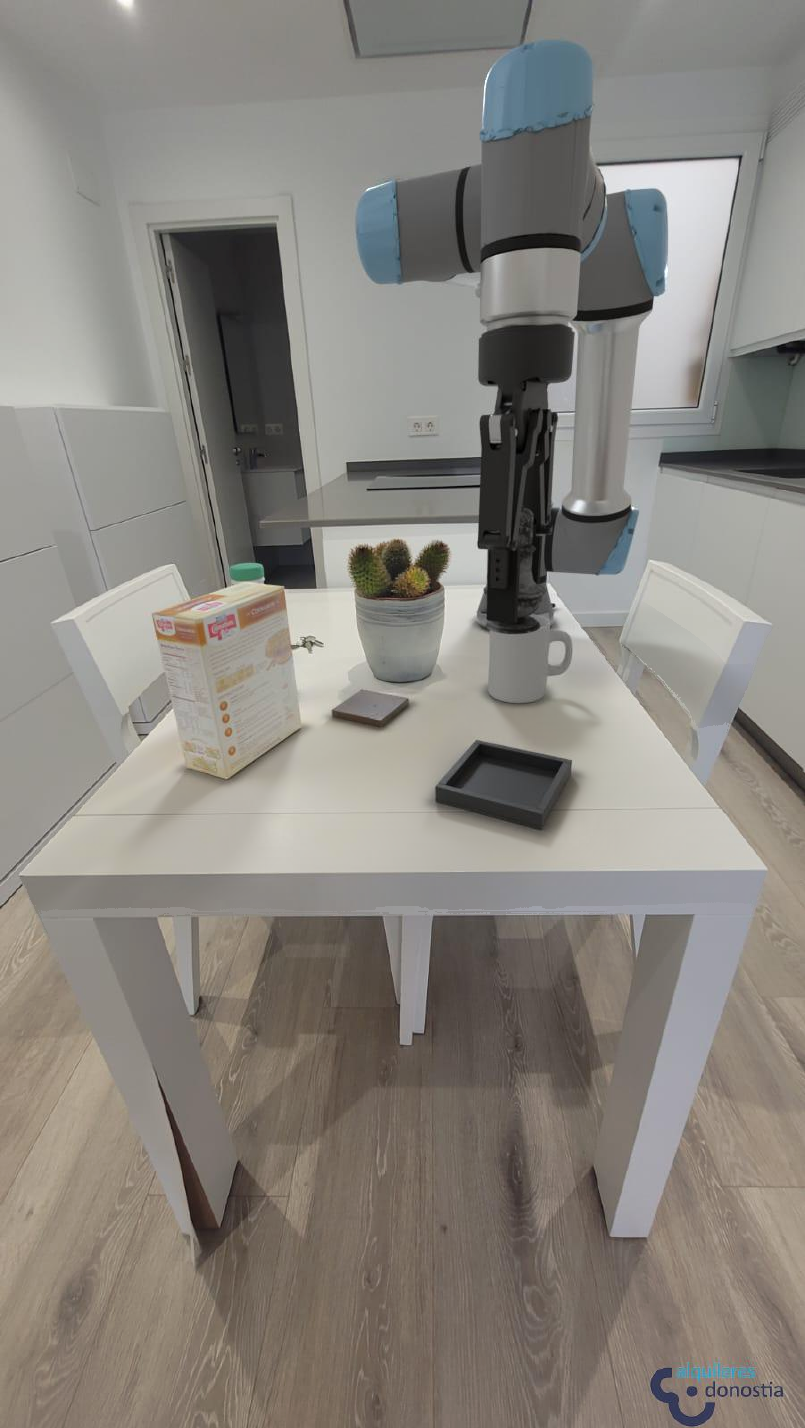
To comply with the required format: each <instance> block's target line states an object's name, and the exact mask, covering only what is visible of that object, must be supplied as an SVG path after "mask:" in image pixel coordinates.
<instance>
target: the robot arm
mask: <svg viewBox="0 0 805 1428" xmlns="http://www.w3.org/2000/svg"><path fill="white" fill-rule="evenodd" d="M594 71H595V70H594V61H593V58H592V55H591V54H590V53H589V51H588V50H587V49H586V48H585V47H584V46H583V45H581V44H579V43H577V42H574V41H572V40H568V39H563V38H562V39H561V38H560V39H559V38H554V39H553V38H548V39H547V38H546V39H539V40H535V41H532V42H531V41H530V42H528V43H524V44H521V45H519V46H516V47H514V48H512V49H510V50H509V51H507V52H506V53H503V55H501V56H500V57H499V58H498V59H497V60H496V61H495V62H494V63H493V65H492V66H491V68H490V69H489V71H488V73H487V76H486V78H485V83H484V88H483V89H484V90H483V101H482V102H483V103H482V114H481V115H482V116H481V126H480V127H481V129H480V131H479V141H481V163H479V164H474V165H469V166H466V167H463V168H458V169H452V170H447V171H443V172H437V173H431V174H427V175H421V176H420V175H419V176H416V177H410V178H405V179H400V180H399V179H398V180H396V178H392V179H391V180H390V181H388V182H385V183H382V184H379V185H376V186H371V187H369V188H367V189H366V190H365V191H363V193H362V194H361V196H360V197H359V200H358V203H357V206H356V211H355V220H354V221H355V223H354V224H355V237H356V246H357V252H358V256H359V259H360V262H361V265H362V268H363V270H364V271H365V274H366V275H367V276H368V278H369V279H370V280H371V281H372V282H373V283H375V284H377V285H388V284H389V285H392V284H393V285H394V284H397V285H398V286H399V285H403V284H404V283H405V284H406V283H411V282H422V281H423V282H431V283H443V284H448V285H454V286H455V285H456V286H461V287H469V288H474V292H475V296H476V297H477V298H478V299H479V323H480V324H481V325H482V326H483V327H485V328H486V331H485V332H483V333H482V334H481V335H480V337H479V338H478V361H477V362H478V363H477V364H478V365H477V366H478V370H477V378H478V379H477V380H478V382H479V384H480V385H481V386H484V387H497V391H496V398H495V403H494V411H493V414H481V416H480V418H479V425H478V426H479V435H480V436H479V437H480V448H481V450H480V451H481V452H480V473H479V474H480V479H479V499H478V500H479V502H478V503H479V504H478V527H477V528H478V529H477V543H476V545H477V549H478V550H487V551H486V583H485V587H486V586H487V595H486V594H485V593H484V592H483V593H482V596H481V599H480V602H479V604H478V607H477V610H476V623H477V624H478V625H479V626H480V627H482V628H484V629H487V630H489V629H488V628H487V627H486V622H487V621H497V622H505V623H514V624H515V623H516V622H517V614H518V594H519V574H520V554H521V549H516V546H517V539H518V531H519V524H520V517H521V509H522V505H523V506H524V507H525V508H528V509H529V510H531V512H532V513H533V517H534V519H533V537H532V545H533V546H534V547H536V550H535V551H534V552H533V553H532V576H533V581H534V582H535V583H536V584H539V585H541V586H543V587H545V589H546V592H545V594H544V595H542V601H541V603H540V605H539V607H538V609H537V610H536V611H535V612H534V613H533V614H535V615H539V616H542V617H545V618H547V619H548V620H549V621H550V627H551V626H552V625H553V624H554V615H555V613H554V608H556V603H554V602H552V601H551V597H550V592H549V588H548V583H547V582H548V581H547V580H548V573H561V574H562V573H563V574H580V575H581V574H582V575H595V576H601V575H606V576H607V575H609V576H611V575H612V576H614V575H615V576H616V575H618V574H620V573H622V572H623V571H624V569H625V568H626V564H627V560H628V557H629V554H630V550H631V546H632V542H633V539H634V533H635V531H636V526H637V523H638V518H639V516H640V515H639V514H640V510H639V508H636V507H634V506H632V501H633V500H632V499H633V498H632V496H631V495H630V494H629V492H628V491H626V490H625V488H624V487H625V479H626V478H625V476H626V466H627V458H628V457H627V456H628V447H629V446H628V445H629V435H630V426H631V416H632V405H633V396H634V395H633V394H634V387H635V386H634V385H635V375H636V365H637V355H638V344H639V335H640V327H641V326H642V323H643V322H644V321H645V320H646V319H647V318H648V317H649V315H651V313H652V312H653V310H654V301H655V297H660V296H661V295H664V294H665V292H666V290H667V283H668V265H669V263H668V262H669V219H668V217H669V216H668V202H667V198H666V195H665V193H664V192H663V191H662V190H661V189H659V188H655V187H652V188H651V187H650V188H637V189H636V188H635V189H630V188H627V189H625V190H621V191H616V192H611V193H607V185H606V182H605V176H604V175H603V174H602V171H601V169H600V168H599V167H598V164H597V163H596V158H595V154H594V150H593V148H592V144H591V127H592V117H593V114H594V113H595V103H594ZM569 324H570V325H571V326H569ZM572 327H573V328H574V329H575V330H576V332H577V353H576V373H575V395H574V400H575V401H574V417H573V419H574V420H573V441H572V443H573V445H572V463H571V464H572V467H571V488H570V489H571V490H570V492H567V494H566V495H565V496H564V497H563V498H562V500H561V506H560V507H556V506H554V502H553V499H552V498H553V495H552V494H553V479H554V478H553V477H554V461H555V460H554V459H555V440H556V434H557V427H558V421H559V415H558V412H557V411H552V410H551V408H549V398H548V397H549V395H548V393H549V392H548V387H549V385H550V384H560V383H565V382H567V381H568V380H569V379H570V378H571V377H572V373H573V362H574V361H573V360H574V351H575V350H574V348H575V333H576V332H575V331H573V328H572Z"/></svg>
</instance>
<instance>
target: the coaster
mask: <svg viewBox="0 0 805 1428" xmlns="http://www.w3.org/2000/svg"><path fill="white" fill-rule="evenodd" d="M409 704H410V703H409V697H405V696H398V695H393V694H388V693H384V692H383V693H382V692H378V691H372V690H367V689H363V688H362V689H360V690H359V691H357V692H356V693H354V694H353V695H351V696H350V697H348V698H347V699H346V700H344V701H343V702H341V703H340V704H339V705H337V706H335V707H334V708H332V709H331V716H332V717H334V718H339V719H342V720H348V721H352V722H357V723H360V724H365V725H369V726H375V727H380V728H382V727H383V726H384V725H386V724H387V723H388V722H389V721H391V719H394V717H395V716H397V715H398V714H399V713H400V712H401V711H403V710H404V709H405V708H406V707H407V706H409Z"/></svg>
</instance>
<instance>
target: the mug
mask: <svg viewBox="0 0 805 1428" xmlns="http://www.w3.org/2000/svg"><path fill="white" fill-rule="evenodd" d="M529 616H530V617H533V618H534V619H535V620H537V621H538V622H539V623H540V625H541V626H540V628H539V629H538V630H536V631H534V632H530V633H525V634H503V633H498V632H494V631H491V630H489V649H488V675H487V692H488V694H489V695H490V697H492V698H493V699H495V700H497V701H501V702H504V703H510V704H529V703H534V702H537V701H539V700H541V699H543V697H544V696H545V694H546V691H547V680H548V677H554V676H555V677H556V676H560V675H563V674H564V673H566V672H567V670H568V669H569V667H570V665H571V662H572V658H573V642H572V641H573V640H572V638H571V636H570V634H569V633H567V632H566V631H564V630H561V629H551V626H550V621H549V620H548V619H547V618H545V617H542V616H539V615H535V614H531V615H529ZM554 642H562V643H563V645H564V648H565V650H564V652H565V653H564V657H563V660H562V661H561V663H559V664H550V663H549V651H550V644H552V643H554Z"/></svg>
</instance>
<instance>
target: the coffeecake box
mask: <svg viewBox="0 0 805 1428" xmlns="http://www.w3.org/2000/svg"><path fill="white" fill-rule="evenodd" d="M150 615H151V618H152V622H153V627H154V631H155V636H156V639H157V644H158V648H159V652H160V657H161V661H162V665H163V666H162V667H163V670H164V675H165V680H166V683H167V687H168V692H169V696H170V700H171V705H172V710H173V714H174V719H175V722H176V727H177V731H178V735H179V741H180V745H181V749H182V754H183V757H184V758H183V759H184V762H185V767H186V768H187V769H189V770H194V771H197V772H200V773H205V774H209V775H211V776H215V777H218V778H221V779H224V780H229V779H230V778H231V777H232V776H234V775H236V774H237V773H238V772H240V771H241V770H243V769H244V768H245V767H246V766H249V764H251V763H252V762H254V761H255V760H257V759H258V758H260V757H261V756H262V755H264V754H265V753H266V752H268V751H269V750H271V749H272V748H274V747H275V746H276V745H278V744H279V743H281V742H282V741H284V740H285V739H287V738H288V737H289V736H291V735H292V734H294V733H295V732H297V731H299V729H301V728H302V727H303V726H302V719H301V710H300V704H299V703H300V702H299V695H298V688H297V679H296V671H295V664H294V663H295V662H294V655H293V650H292V649H293V648H292V640H291V632H290V624H289V615H288V609H287V600H286V592H285V586H284V585H277V584H276V585H275V584H274V585H273V584H265V583H264V584H260V583H256V582H241V583H238V584H235V585H233V584H232V585H230V586H227V587H225V588H221V589H218V590H215V591H213V592H209V593H207V594H204V595H201V596H198V597H195V598H192V599H189V600H186V601H183V602H181V603H178V604H175V605H171V606H168V607H166V608H163V609H159V610H157V611H154V612H151V614H150Z"/></svg>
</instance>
